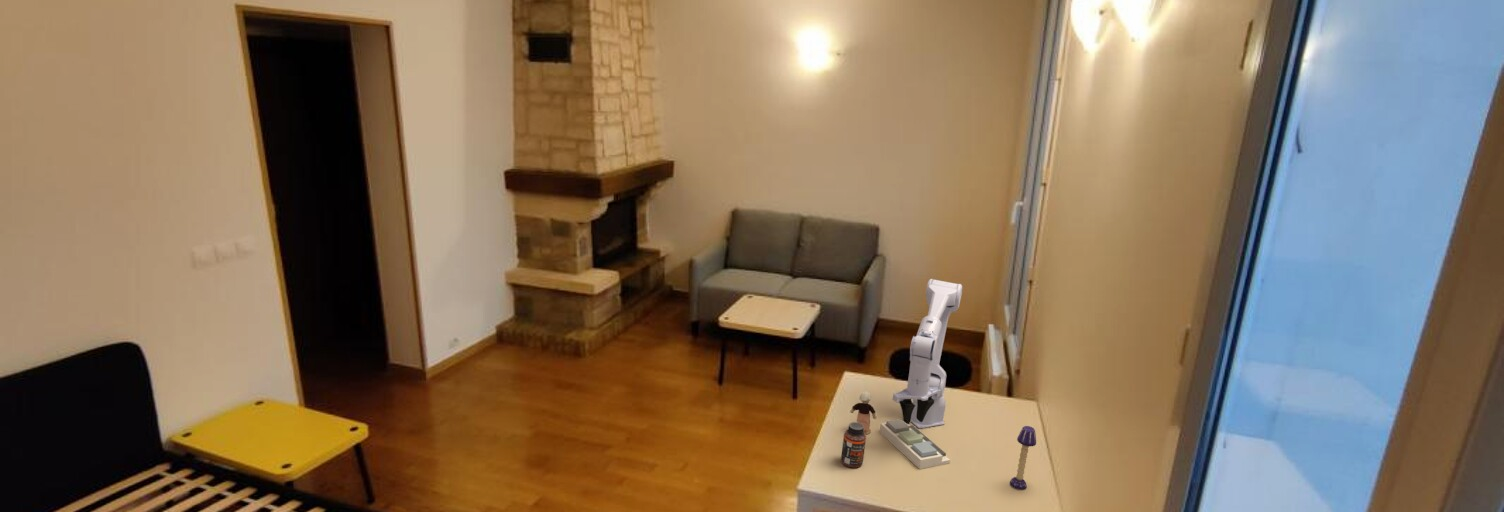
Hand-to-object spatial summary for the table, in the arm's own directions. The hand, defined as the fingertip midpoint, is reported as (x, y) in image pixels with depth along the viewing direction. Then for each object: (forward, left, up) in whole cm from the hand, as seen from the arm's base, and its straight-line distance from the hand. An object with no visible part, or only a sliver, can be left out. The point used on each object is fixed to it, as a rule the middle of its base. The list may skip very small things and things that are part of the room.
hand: (912, 421), depth 198 cm
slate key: (0, +7, -6) cm, 9 cm away
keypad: (-1, 0, -8) cm, 9 cm away
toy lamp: (-18, +24, -9) cm, 31 cm away
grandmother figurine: (+9, -12, -9) cm, 17 cm away
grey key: (0, -6, -6) cm, 9 cm away
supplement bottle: (+20, +2, -9) cm, 22 cm away
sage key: (0, 0, -6) cm, 6 cm away
